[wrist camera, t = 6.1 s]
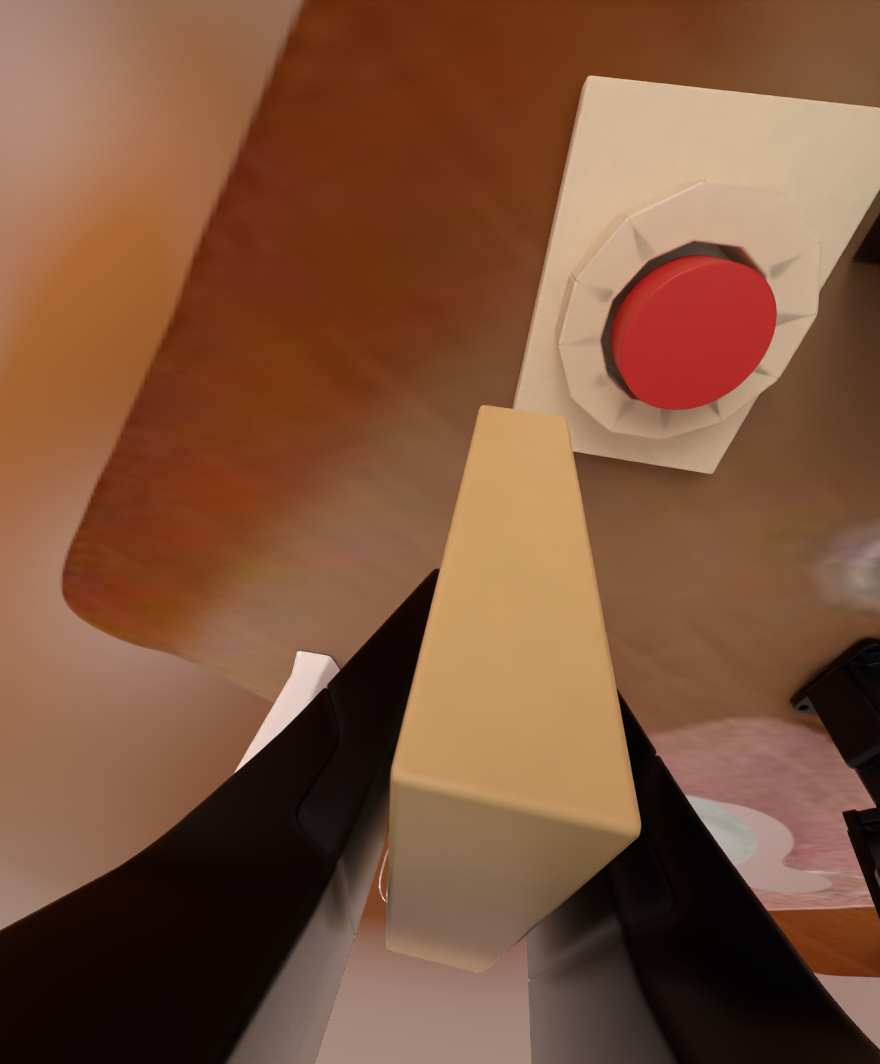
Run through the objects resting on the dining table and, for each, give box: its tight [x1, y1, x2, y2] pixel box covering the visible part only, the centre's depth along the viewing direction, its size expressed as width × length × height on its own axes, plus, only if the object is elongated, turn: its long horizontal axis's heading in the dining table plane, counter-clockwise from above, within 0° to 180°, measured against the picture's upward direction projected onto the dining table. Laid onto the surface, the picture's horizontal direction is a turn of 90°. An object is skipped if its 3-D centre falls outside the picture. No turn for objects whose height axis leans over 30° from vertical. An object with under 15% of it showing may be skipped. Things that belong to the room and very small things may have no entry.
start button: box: [611, 255, 777, 410], centre depth 12 cm, size 4×4×2 cm
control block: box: [512, 76, 880, 474], centre depth 13 cm, size 10×8×3 cm
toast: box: [386, 405, 641, 973], centre depth 7 cm, size 6×2×6 cm, turn 175°
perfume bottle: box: [235, 651, 340, 772], centre depth 25 cm, size 5×4×15 cm
